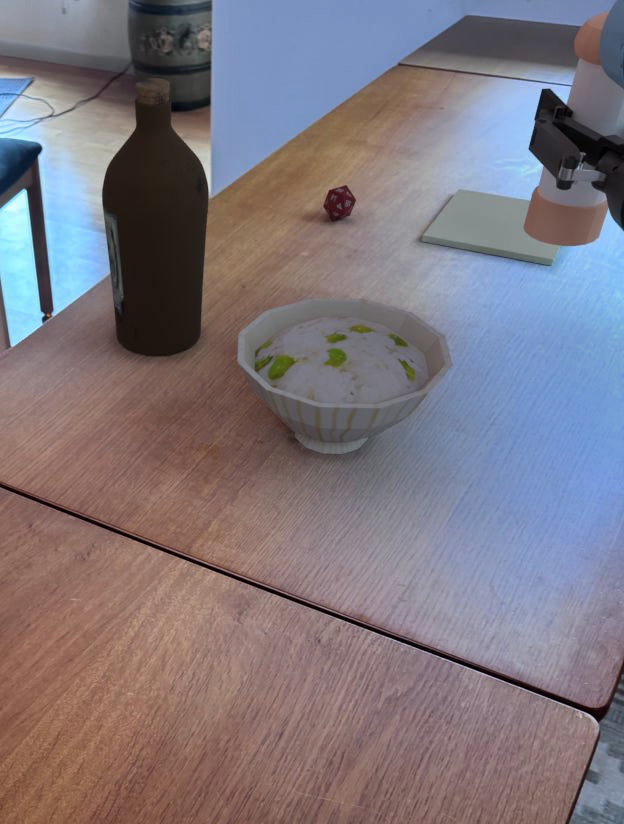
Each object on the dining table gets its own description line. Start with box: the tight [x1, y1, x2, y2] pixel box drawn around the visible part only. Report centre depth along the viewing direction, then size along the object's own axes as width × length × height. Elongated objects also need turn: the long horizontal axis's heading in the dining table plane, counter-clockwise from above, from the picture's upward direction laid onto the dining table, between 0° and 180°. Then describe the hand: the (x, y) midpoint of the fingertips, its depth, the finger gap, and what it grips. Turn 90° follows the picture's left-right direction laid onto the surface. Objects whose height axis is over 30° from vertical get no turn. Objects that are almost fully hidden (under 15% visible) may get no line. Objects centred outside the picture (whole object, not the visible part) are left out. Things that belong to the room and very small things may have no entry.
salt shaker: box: [523, 10, 624, 247], centre depth 84 cm, size 7×7×19 cm
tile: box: [421, 188, 563, 267], centre depth 116 cm, size 16×16×1 cm
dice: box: [322, 184, 357, 222], centre depth 119 cm, size 4×4×4 cm
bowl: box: [237, 297, 454, 455], centre depth 84 cm, size 19×19×10 cm
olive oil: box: [101, 77, 210, 357], centre depth 92 cm, size 11×11×25 cm
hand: (574, 102), depth 87 cm, fingers closed on salt shaker, 5 cm apart
